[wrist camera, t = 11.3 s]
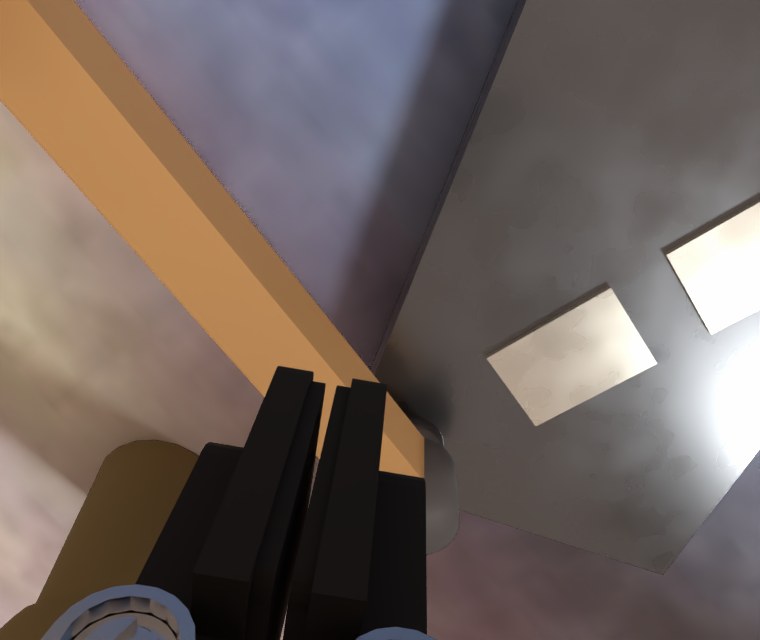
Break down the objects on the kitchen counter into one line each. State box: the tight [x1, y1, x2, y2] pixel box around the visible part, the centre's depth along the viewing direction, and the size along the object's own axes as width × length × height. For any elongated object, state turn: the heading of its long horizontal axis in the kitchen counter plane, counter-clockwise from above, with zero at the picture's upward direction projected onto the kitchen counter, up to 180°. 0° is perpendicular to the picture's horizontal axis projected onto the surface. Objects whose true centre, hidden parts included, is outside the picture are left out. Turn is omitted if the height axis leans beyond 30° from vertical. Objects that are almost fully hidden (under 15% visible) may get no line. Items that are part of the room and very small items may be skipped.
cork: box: [0, 440, 199, 640], centre depth 25 cm, size 6×6×11 cm
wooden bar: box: [0, 0, 459, 555], centre depth 20 cm, size 22×3×3 cm, turn 35°
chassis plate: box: [370, 0, 760, 575], centre depth 23 cm, size 22×15×4 cm
